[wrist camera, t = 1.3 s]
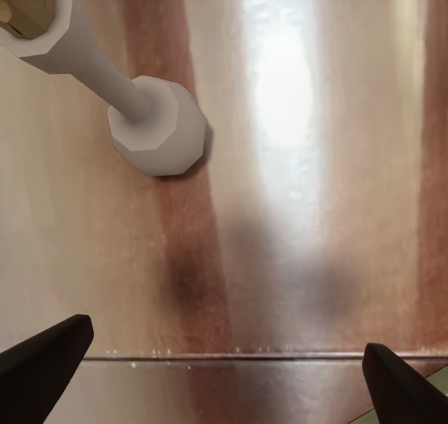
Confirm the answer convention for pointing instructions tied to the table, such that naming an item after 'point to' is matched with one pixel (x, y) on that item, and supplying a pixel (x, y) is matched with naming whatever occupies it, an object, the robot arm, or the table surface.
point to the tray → (442, 379)
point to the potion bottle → (108, 84)
